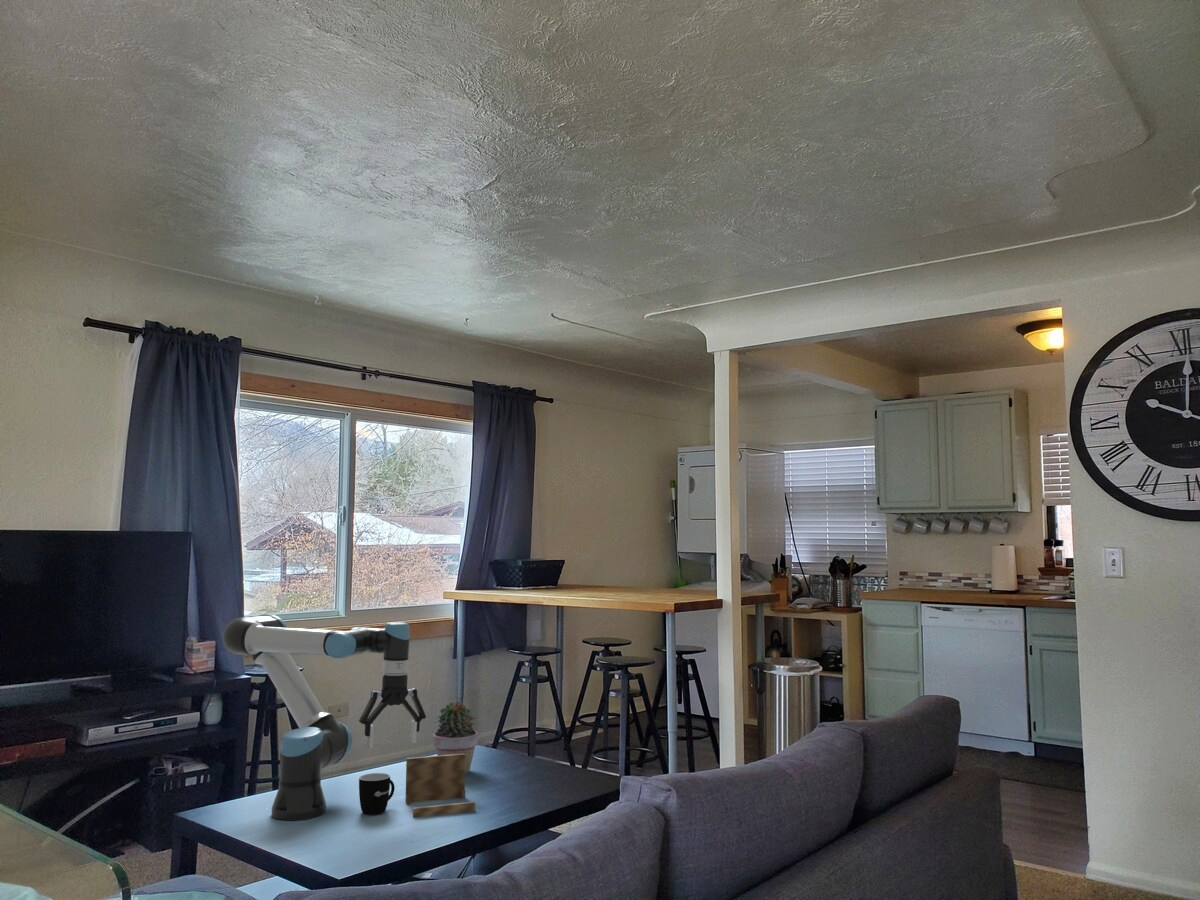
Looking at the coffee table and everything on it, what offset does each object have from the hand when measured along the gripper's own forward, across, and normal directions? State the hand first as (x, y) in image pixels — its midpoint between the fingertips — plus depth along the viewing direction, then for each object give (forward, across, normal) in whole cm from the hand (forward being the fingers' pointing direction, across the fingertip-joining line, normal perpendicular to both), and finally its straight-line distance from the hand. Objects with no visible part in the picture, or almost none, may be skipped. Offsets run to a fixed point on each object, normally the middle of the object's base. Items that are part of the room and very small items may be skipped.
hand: (391, 745), depth 265 cm
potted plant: (+18, +33, +29) cm, 47 cm away
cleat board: (+17, +13, -9) cm, 23 cm away
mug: (+18, -4, -3) cm, 19 cm away
